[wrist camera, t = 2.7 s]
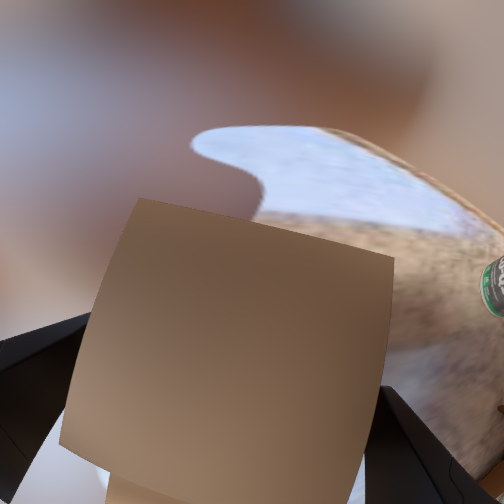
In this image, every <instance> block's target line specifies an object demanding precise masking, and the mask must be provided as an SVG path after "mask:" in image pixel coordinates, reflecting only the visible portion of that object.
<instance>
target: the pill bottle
mask: <svg viewBox="0 0 504 504" xmlns="http://www.w3.org/2000/svg"><path fill="white" fill-rule="evenodd" d="M480 290H481V296H482V299H483V302H484V304H485V306H486V308H487V309H488V310H489V312H490V313H491V314H492V315H494V316H496V317H503V316H504V256H503V257H501V258H500V259H498V260H496V261H494V262H493V263H491V264H490V265H488V266H487V267H486V268H485V269H484V271H483V273H482V275H481V280H480Z"/></svg>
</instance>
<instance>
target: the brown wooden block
mask: <svg viewBox="0 0 504 504" xmlns="http://www.w3.org/2000/svg"><path fill="white" fill-rule="evenodd" d="M393 277H394V257H390V256H386V255H383V254H379V253H375V252H372V251H368V250H364V249H360V248H356V247H352V246H349V245H345V244H341V243H337V242H333V241H329V240H325V239H321V238H317V237H313V236H309V235H305V234H301V233H297V232H293V231H288V230H284V229H280V228H276V227H272V226H267V225H263V224H259V223H255V222H250V221H246V220H241V219H237V218H233V217H228V216H224V215H219V214H215V213H210V212H206V211H201V210H196V209H192V208H187V207H182V206H178V205H173V204H168V203H163V202H159V201H154V200H148V199H143V198H139V199H138V201H137V203H136V205H135V207H134V209H133V211H132V213H131V215H130V217H129V219H128V222H127V224H126V226H125V228H124V230H123V233H122V235H121V237H120V239H119V242H118V244H117V247H116V249H115V251H114V254H113V256H112V258H111V261H110V263H109V266H108V268H107V271H106V273H105V276H104V278H103V281H102V284H101V286H100V289H99V292H98V294H97V297H96V300H95V303H94V306H93V309H92V311H91V314H90V317H89V320H88V323H87V327H86V330H85V333H84V336H83V339H82V343H81V346H80V350H79V353H78V357H77V360H76V364H75V368H74V372H73V376H72V380H71V384H70V388H69V392H68V397H67V401H66V406H65V411H64V416H63V421H62V427H61V433H60V439H59V444H60V445H61V446H63V447H64V448H66V449H68V450H69V451H71V452H73V453H74V454H77V455H78V456H80V457H82V458H83V459H85V460H87V461H89V462H91V463H93V464H94V465H96V466H98V467H100V468H102V469H104V470H106V471H108V472H110V473H113V474H115V475H117V476H119V477H121V478H123V479H126V480H128V481H130V482H133V483H135V484H137V485H140V486H142V487H145V488H148V489H150V490H153V491H156V492H158V493H161V494H164V495H167V496H170V497H173V498H176V499H179V500H182V501H186V502H189V503H193V504H347V502H348V499H349V496H350V494H351V491H352V488H353V485H354V482H355V479H356V476H357V473H358V470H359V467H360V464H361V461H362V458H363V454H364V451H365V447H366V444H367V440H368V436H369V433H370V429H371V425H372V421H373V416H374V412H375V408H376V403H377V399H378V394H379V389H380V384H381V378H382V373H383V367H384V361H385V354H386V347H387V340H388V332H389V324H390V315H391V304H392V292H393Z"/></svg>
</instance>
